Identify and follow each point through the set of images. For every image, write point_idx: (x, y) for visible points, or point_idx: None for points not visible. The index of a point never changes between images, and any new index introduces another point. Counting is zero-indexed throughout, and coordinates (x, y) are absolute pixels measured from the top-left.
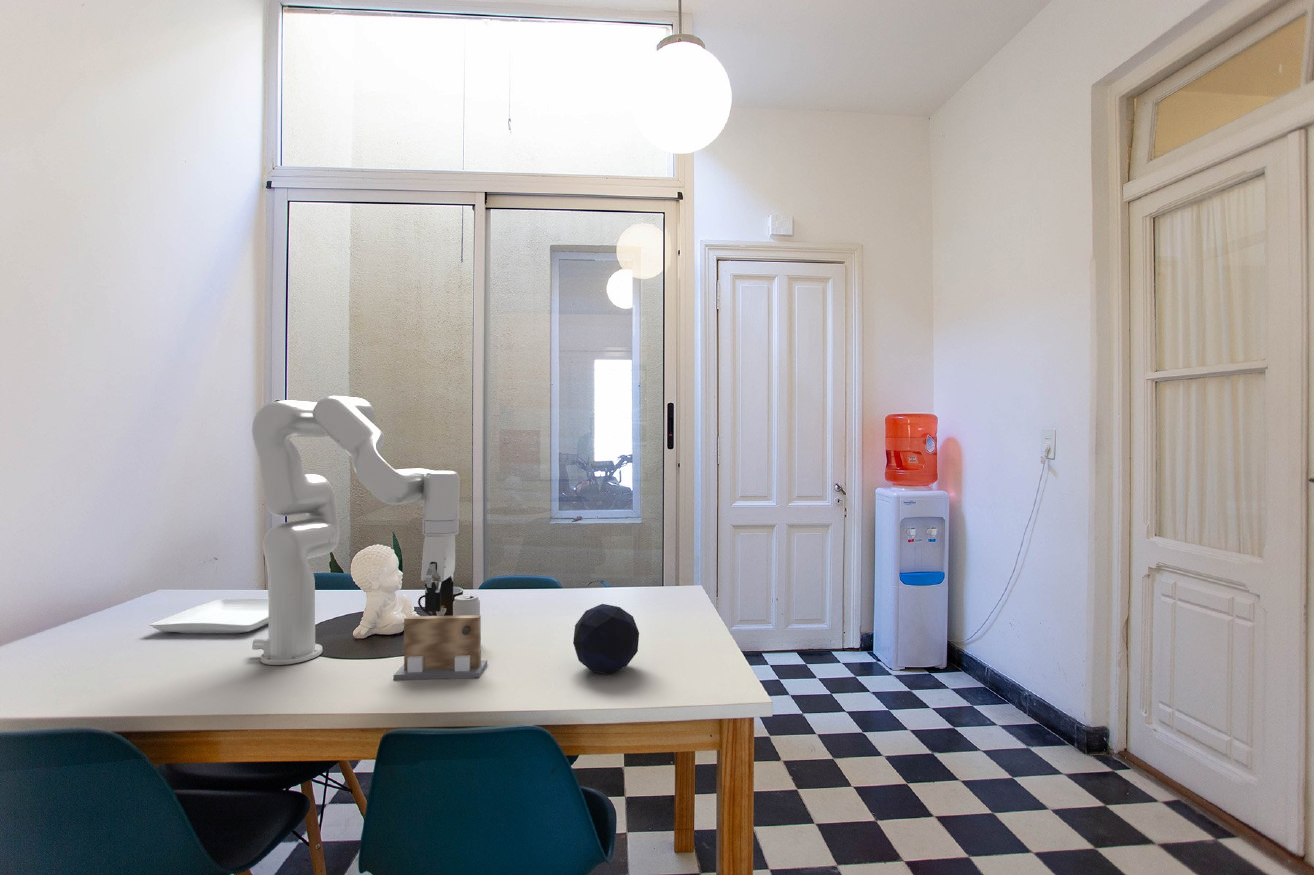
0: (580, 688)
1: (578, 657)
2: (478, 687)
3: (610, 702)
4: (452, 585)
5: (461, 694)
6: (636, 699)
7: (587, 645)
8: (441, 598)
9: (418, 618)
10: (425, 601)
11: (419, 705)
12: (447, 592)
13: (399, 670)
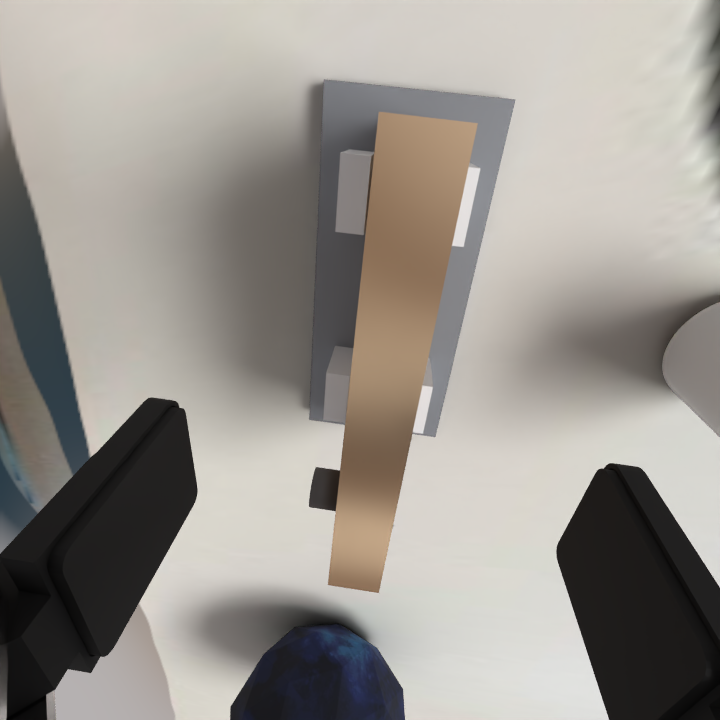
0: (229, 591)
1: (304, 642)
2: (235, 411)
3: (162, 617)
4: (612, 705)
5: (182, 371)
6: (179, 646)
7: (242, 702)
8: (590, 488)
9: (368, 261)
10: (91, 464)
11: (85, 260)
12: (592, 586)
13: (384, 96)
